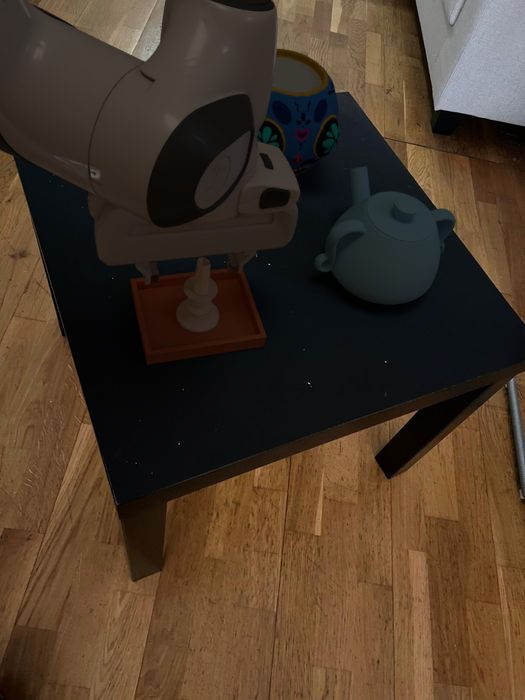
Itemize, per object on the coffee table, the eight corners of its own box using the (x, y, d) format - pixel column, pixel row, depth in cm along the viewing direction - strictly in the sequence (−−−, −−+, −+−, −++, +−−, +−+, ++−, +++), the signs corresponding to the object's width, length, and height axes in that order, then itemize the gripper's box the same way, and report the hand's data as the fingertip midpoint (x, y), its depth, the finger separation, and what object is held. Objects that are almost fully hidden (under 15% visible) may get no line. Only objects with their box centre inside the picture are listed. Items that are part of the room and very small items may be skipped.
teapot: (330, 327, 69) (362, 260, 59) (278, 218, 79) (297, 144, 68) (457, 303, 75) (505, 239, 65) (394, 205, 85) (428, 135, 74)
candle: (211, 296, 68) (220, 237, 59) (224, 329, 65) (235, 272, 57) (171, 303, 66) (173, 243, 58) (182, 337, 64) (186, 280, 55)
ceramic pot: (232, 206, 78) (246, 112, 66) (201, 130, 87) (208, 35, 75) (339, 196, 84) (371, 107, 71) (300, 125, 92) (322, 35, 80)
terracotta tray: (146, 365, 61) (146, 355, 60) (130, 289, 67) (130, 278, 65) (263, 346, 66) (266, 337, 64) (239, 277, 71) (242, 266, 69)
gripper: (90, 207, 44) (101, 309, 55) (316, 191, 50) (285, 285, 62) (80, 157, 47) (92, 263, 58) (294, 147, 53) (268, 245, 65)
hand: (193, 274), depth 60 cm, fingers open, 8 cm apart
